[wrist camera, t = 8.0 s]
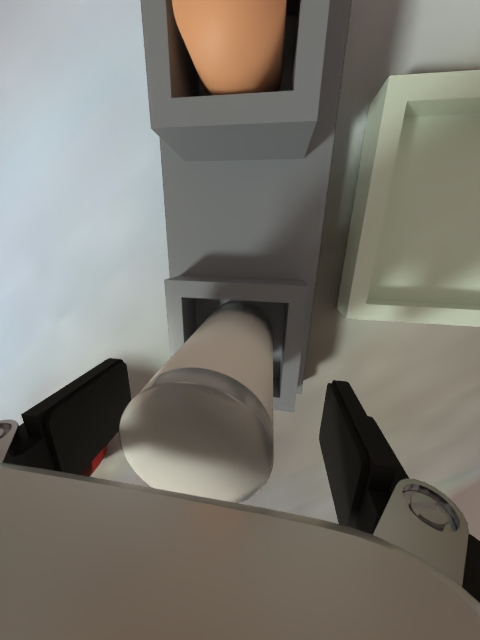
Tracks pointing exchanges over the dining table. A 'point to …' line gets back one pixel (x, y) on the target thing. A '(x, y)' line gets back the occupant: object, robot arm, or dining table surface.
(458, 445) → the dining table surface
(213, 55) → the tan rounded piece
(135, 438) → the cylinder
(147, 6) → the housing
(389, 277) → the tray
